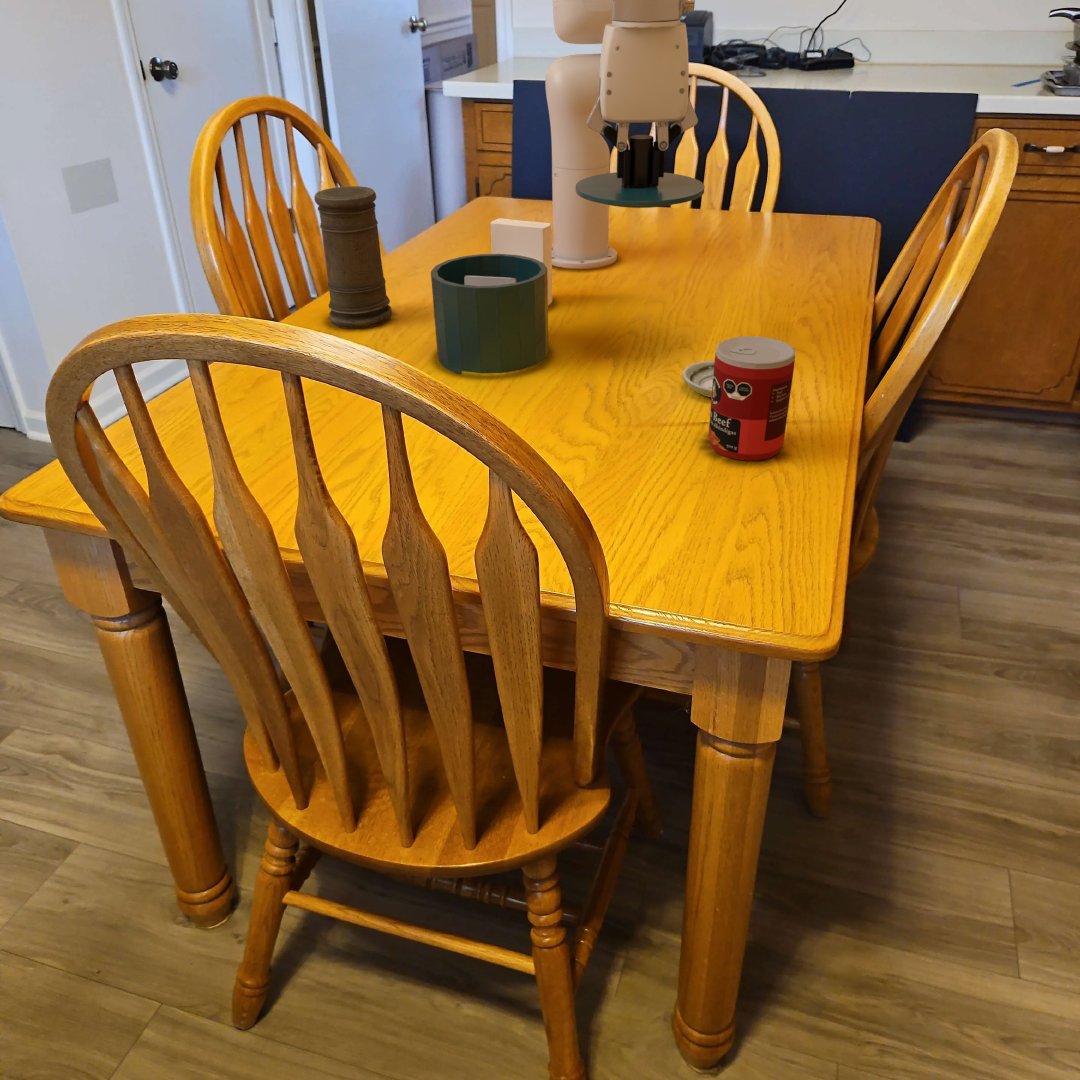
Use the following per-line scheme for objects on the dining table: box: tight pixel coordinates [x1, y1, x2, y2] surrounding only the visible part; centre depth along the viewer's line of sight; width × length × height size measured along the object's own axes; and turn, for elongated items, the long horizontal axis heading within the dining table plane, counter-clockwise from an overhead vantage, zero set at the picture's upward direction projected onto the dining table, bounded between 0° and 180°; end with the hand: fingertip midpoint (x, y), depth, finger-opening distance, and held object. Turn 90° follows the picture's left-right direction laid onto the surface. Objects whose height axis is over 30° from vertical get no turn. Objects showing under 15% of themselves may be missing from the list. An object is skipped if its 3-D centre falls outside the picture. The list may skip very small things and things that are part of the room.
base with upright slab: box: [489, 217, 553, 306], centre depth 138 cm, size 9×9×12 cm
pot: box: [430, 253, 550, 375], centre depth 121 cm, size 15×15×12 cm
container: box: [313, 185, 393, 329], centre depth 132 cm, size 9×9×18 cm
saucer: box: [681, 359, 715, 399], centre depth 111 cm, size 10×10×2 cm
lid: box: [576, 134, 705, 209], centre depth 111 cm, size 16×16×7 cm
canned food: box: [708, 335, 796, 462], centre depth 97 cm, size 8×8×11 cm
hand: (639, 182), depth 112 cm, fingers closed on lid, 2 cm apart
